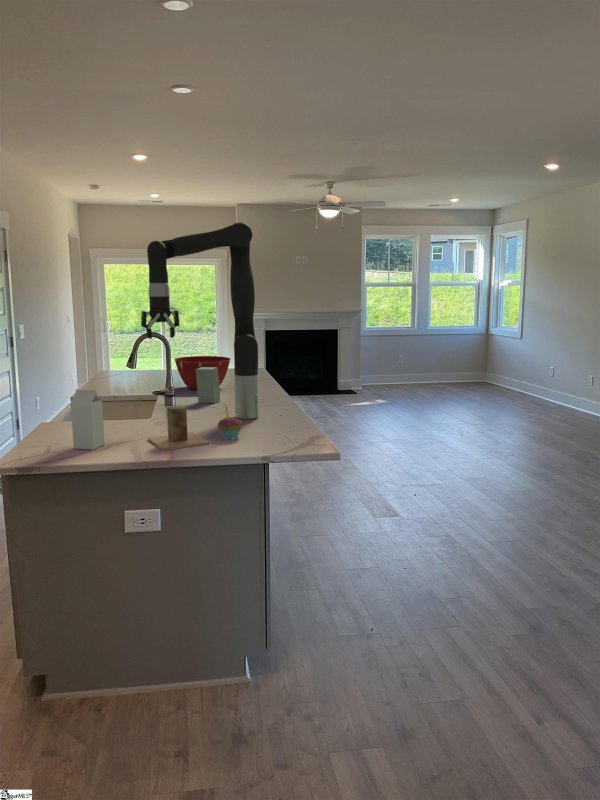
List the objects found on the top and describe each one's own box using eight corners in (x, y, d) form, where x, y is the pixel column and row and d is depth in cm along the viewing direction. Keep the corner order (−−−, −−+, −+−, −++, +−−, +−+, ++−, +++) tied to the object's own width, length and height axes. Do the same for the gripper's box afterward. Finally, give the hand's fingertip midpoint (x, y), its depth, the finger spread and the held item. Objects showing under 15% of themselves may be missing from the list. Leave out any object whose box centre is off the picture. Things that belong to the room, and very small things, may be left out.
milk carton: (93, 450, 199) (89, 391, 196) (73, 449, 200) (69, 391, 197) (104, 444, 206) (101, 388, 202) (85, 443, 207) (81, 387, 204)
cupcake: (232, 441, 209) (231, 407, 207) (213, 438, 214) (212, 404, 211) (247, 436, 216) (247, 402, 214) (228, 433, 221) (227, 400, 219)
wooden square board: (192, 434, 220) (192, 432, 220) (209, 444, 206) (209, 441, 206) (147, 439, 212) (147, 437, 212) (162, 450, 198) (162, 448, 198)
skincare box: (220, 401, 282) (219, 366, 279) (213, 404, 275) (212, 368, 272) (203, 400, 285) (202, 366, 282) (196, 403, 278) (195, 368, 275)
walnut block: (182, 437, 212) (181, 405, 210) (187, 440, 208) (186, 408, 206) (168, 439, 210) (167, 407, 208) (173, 442, 206) (171, 409, 204)
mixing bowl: (203, 382, 338) (202, 354, 335) (242, 387, 321) (242, 357, 318) (163, 389, 315) (162, 359, 312) (204, 394, 299) (203, 363, 296)
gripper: (143, 295, 228) (145, 339, 231) (180, 295, 235) (182, 338, 238) (137, 295, 234) (139, 338, 237) (174, 295, 241) (175, 336, 244)
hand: (161, 338), depth 238 cm, fingers open, 8 cm apart
